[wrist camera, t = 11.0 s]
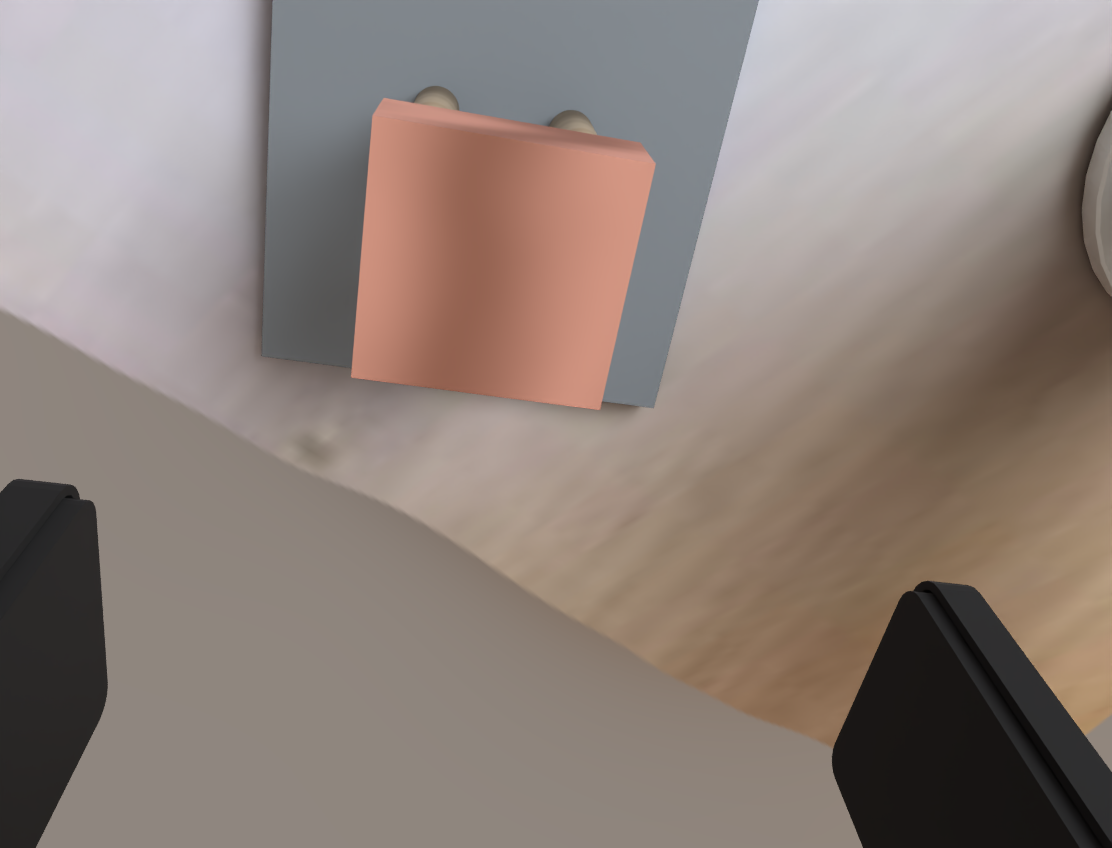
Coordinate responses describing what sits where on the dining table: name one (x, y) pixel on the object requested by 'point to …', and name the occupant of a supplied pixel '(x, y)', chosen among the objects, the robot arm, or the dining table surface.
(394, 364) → the stool
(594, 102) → the slate mat
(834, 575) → the dining table surface
